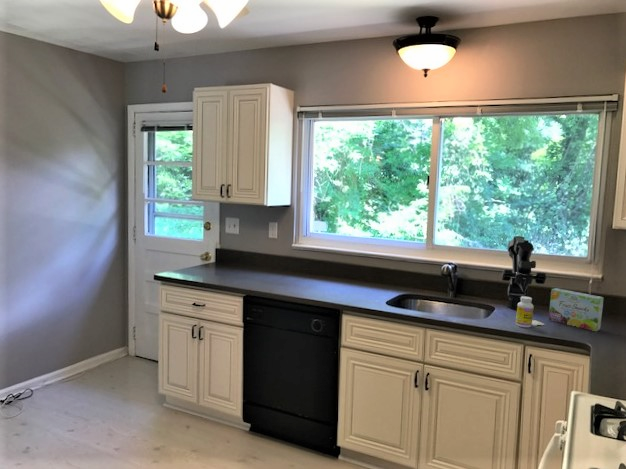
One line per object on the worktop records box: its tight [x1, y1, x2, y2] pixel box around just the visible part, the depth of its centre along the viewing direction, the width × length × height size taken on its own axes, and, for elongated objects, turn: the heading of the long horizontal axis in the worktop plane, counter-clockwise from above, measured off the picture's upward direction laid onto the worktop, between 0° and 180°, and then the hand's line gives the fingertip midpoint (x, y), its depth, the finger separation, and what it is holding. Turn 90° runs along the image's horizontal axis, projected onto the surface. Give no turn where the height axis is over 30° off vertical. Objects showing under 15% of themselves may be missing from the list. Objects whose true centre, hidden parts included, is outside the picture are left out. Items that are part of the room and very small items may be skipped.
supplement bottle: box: [515, 296, 535, 329], centre depth 240 cm, size 7×7×13 cm
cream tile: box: [532, 319, 546, 327], centre depth 245 cm, size 6×6×1 cm
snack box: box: [548, 287, 604, 333], centre depth 245 cm, size 21×6×15 cm, turn 45°
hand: (524, 291), depth 248 cm, fingers closed
